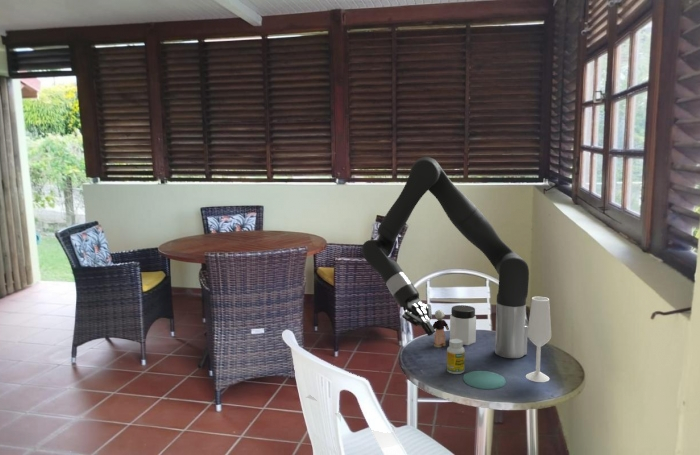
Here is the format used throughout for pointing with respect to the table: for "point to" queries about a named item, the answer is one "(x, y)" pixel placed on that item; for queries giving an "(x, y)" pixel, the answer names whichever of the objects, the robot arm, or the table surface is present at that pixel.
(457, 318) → the jar
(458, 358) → the supplement bottle
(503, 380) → the mat
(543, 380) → the champagne flute
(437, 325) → the grandmother figurine
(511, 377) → the table surface
